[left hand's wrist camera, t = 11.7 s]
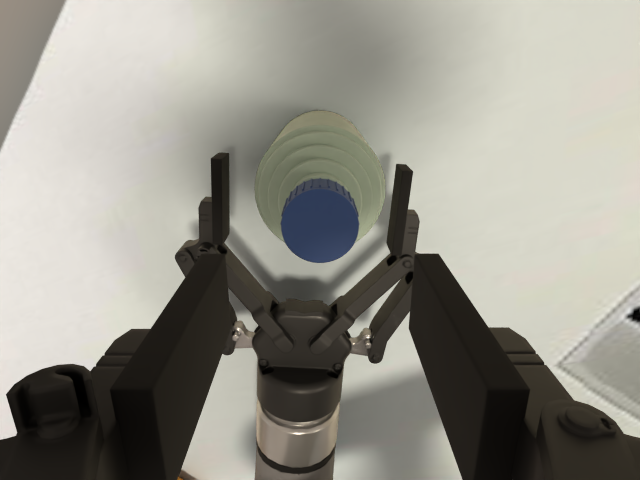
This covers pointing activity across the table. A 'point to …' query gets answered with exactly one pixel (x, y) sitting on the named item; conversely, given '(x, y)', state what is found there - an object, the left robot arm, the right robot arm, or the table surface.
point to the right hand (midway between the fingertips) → (312, 160)
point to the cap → (320, 221)
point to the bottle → (319, 167)
